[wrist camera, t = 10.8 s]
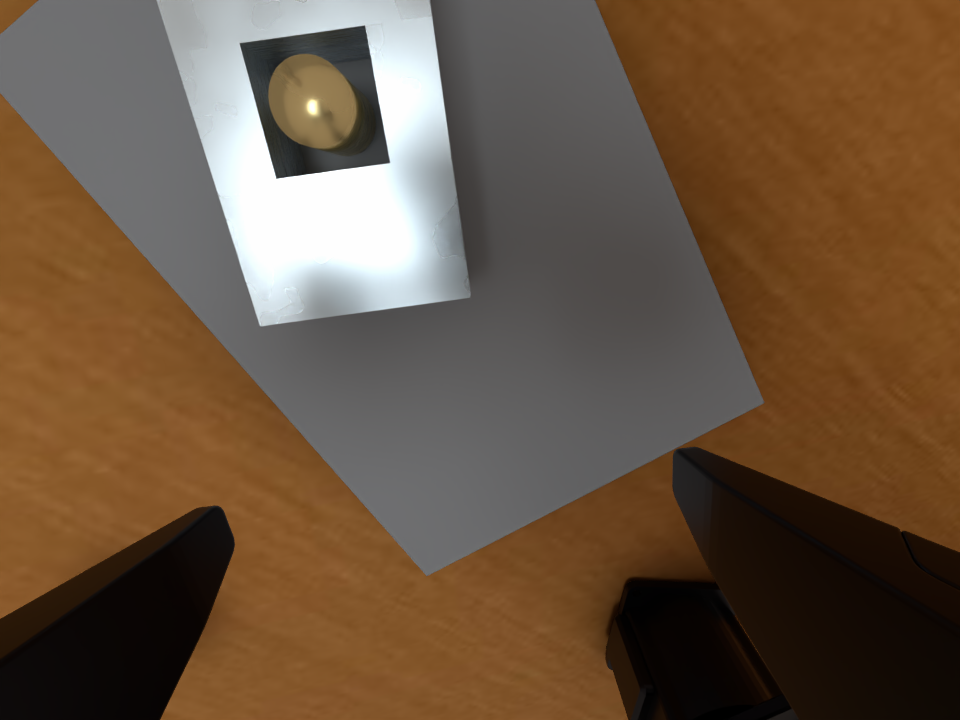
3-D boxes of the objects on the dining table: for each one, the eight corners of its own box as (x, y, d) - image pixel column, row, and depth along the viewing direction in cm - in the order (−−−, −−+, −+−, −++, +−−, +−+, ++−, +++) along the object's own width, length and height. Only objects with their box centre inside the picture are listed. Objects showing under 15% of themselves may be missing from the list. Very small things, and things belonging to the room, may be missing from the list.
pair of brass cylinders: (381, 151, 16) (360, 141, 12) (320, 160, 16) (281, 152, 12) (343, -48, 14) (306, -124, 10) (273, -37, 14) (212, -110, 10)
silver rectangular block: (469, 280, 18) (470, 297, 15) (292, 304, 18) (260, 326, 15) (413, -123, 13) (400, -206, 10) (179, -89, 13) (105, -163, 11)
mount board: (750, 393, 21) (764, 402, 20) (428, 560, 24) (427, 576, 23) (444, -320, 13) (443, -360, 12) (0, 68, 15) (-29, 60, 14)
